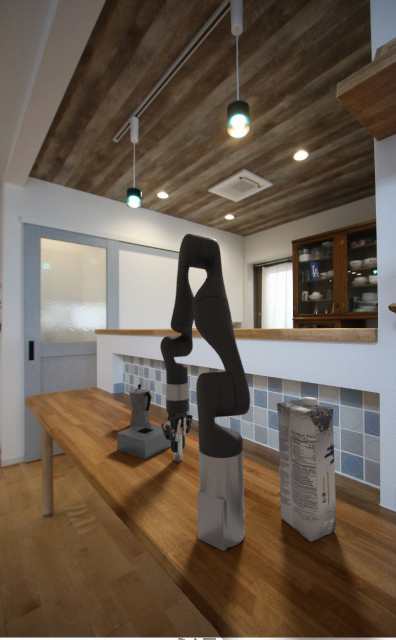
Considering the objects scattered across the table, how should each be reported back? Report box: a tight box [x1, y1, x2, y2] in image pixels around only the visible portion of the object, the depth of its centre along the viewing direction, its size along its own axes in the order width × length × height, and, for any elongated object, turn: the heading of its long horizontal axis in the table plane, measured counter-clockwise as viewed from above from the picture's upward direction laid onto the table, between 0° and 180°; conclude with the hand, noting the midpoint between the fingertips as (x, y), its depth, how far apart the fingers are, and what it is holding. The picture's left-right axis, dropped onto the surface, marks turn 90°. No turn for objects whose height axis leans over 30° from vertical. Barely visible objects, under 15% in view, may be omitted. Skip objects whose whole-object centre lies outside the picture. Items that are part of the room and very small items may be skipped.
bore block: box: [116, 422, 171, 460], centre depth 105 cm, size 14×14×6 cm
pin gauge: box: [173, 428, 184, 463], centre depth 95 cm, size 3×3×10 cm
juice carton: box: [276, 396, 337, 543], centre depth 63 cm, size 9×10×27 cm
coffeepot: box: [128, 383, 152, 428], centre depth 129 cm, size 15×9×18 cm, turn 43°
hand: (178, 449), depth 95 cm, fingers closed on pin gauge, 3 cm apart
